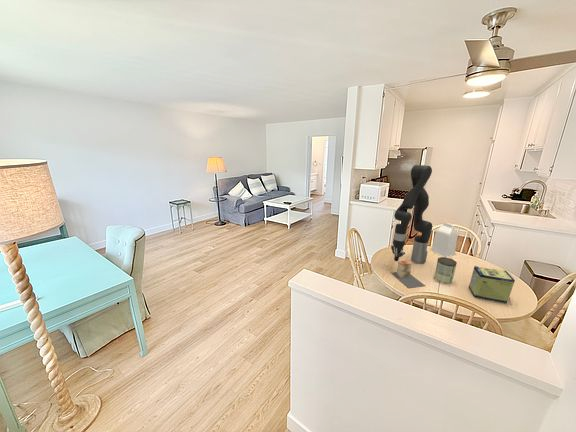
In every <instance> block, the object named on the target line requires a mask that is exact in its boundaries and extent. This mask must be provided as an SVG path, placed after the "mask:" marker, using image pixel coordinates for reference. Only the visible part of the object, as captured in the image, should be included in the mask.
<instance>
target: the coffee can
mask: <svg viewBox="0 0 576 432" xmlns="http://www.w3.org/2000/svg"><path fill="white" fill-rule="evenodd" d="M457 263H458V262H457V261H456V260H454V259H453V258H450V257H443V256H441V257H438V258H437V262H436V268H435V271H434V277H433V278H434V280H435V281H437V282H438V283H441V284H446V285H447V284H448V285H451V284H452V283H453V279H454V276H455V273H456V272H455V271H456V267H457Z"/></svg>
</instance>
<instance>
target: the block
mask: <svg viewBox="0 0 576 432" xmlns="http://www.w3.org/2000/svg"><path fill="white" fill-rule="evenodd" d="M396 266H397V267H396V272H397V273H396V274H397V275H398V276H399V277H409V276H410V274H411V270H412V266H413V262H410V260H407V259H405V260H398V261H397V265H396Z"/></svg>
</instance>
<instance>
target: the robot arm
mask: <svg viewBox="0 0 576 432" xmlns="http://www.w3.org/2000/svg"><path fill="white" fill-rule="evenodd" d="M432 173H433V169H432V167H431V166H430V165H426V164H425V165H424V164H423V165H422V164H421V165H420V164H415V165H413V166H412V168H411V169H410V178H411V183H412V184H411V185H412V188H411V189H410V190H409V191H408V192H407V193H406V194H405V196H404V198H403V200H402V203H401V204H400V206H399V207H398V208H397V209H396V211H395V212H394V219H395V220H397V221H399V222H402V223H396V224H395V228H394V234H393V240H392V245H391V246H390V247H391V248H390V249H391V251H392V254H393V257H394V258H393V260H394V261H395V262H398V261H400V260H399V259H400V258H402V257H403V256H404V255H405V254H406V252H405V251H404V247H405V245H406V238H407V231H408V226H409V224H410V223H411V221H412V213H411V212H408V211H406V210H412V209H413V212H414V214H413V229H414V231H416V232H417V233H418V232H419V233H421V234H420V235H419V234H418V235H415V236H414V239H413V244H412V249H411V257H410V261H411V263H414V264H418V265H422V264H423V265H424V264H425V263H426V262H427V256H428V246H429V241H430V238H431V234H432V231H433V223H432V222H430V221H428V220H424V219H423V213H424V212H426V210H427V209H428V208H429V205H430V204H429V203H430V202H429V200H430V196H429V194H428V192H427V190H426V189H425V188H424V187H425V186H426V184H427V182H428V181H429V179H430V178H431V177H432Z"/></svg>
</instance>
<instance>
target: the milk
mask: <svg viewBox="0 0 576 432" xmlns="http://www.w3.org/2000/svg"><path fill="white" fill-rule="evenodd" d="M458 235H459V233H458V232H457V230H456V229H455V225H454V224H452V223H448V222H444V223H443V224H441V226H440V227H439V228H438V229H437V230H436V231H435V235H434V239H433V242H432V246H431V250H430V252H431V251H433V252H432V253H434V252H435V253H434V254H436V253H437V255H438V254H439V256H441V255H442V256H441V257H443V256H444V257H446V258H448V257H447V256H449V257H451V256H450V255H452V256H454V254H455V255H456V251H457V250H456V249H457V242H458Z"/></svg>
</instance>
